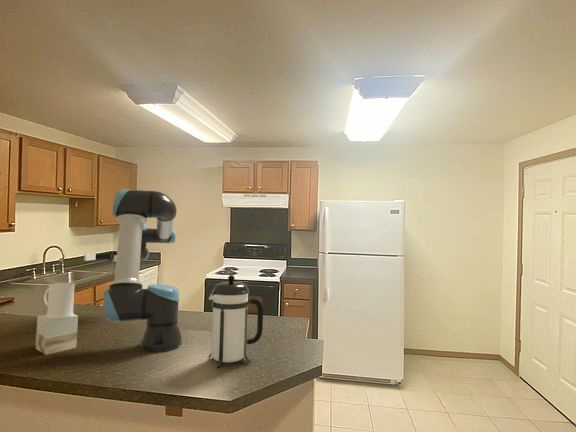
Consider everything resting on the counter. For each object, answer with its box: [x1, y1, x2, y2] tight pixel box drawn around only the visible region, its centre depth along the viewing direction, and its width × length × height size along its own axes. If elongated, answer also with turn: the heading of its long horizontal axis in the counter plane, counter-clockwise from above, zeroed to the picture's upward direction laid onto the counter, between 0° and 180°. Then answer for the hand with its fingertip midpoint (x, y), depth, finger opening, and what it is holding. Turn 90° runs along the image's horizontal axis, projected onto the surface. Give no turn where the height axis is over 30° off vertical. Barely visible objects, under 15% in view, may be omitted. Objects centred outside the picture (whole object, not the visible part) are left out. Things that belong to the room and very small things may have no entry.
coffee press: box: [208, 274, 264, 369], centre depth 119 cm, size 17×16×30 cm
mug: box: [43, 282, 76, 319], centre depth 127 cm, size 12×8×12 cm
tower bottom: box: [34, 331, 78, 355], centre depth 126 cm, size 10×10×6 cm
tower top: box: [36, 313, 79, 338], centre depth 127 cm, size 10×10×6 cm
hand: (99, 258), depth 145 cm, fingers open, 13 cm apart
